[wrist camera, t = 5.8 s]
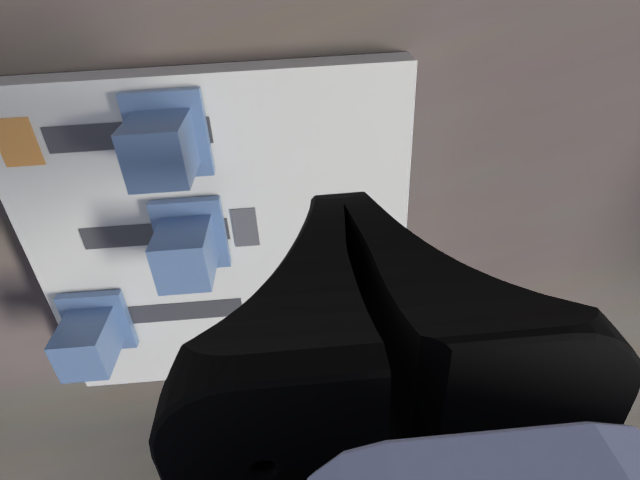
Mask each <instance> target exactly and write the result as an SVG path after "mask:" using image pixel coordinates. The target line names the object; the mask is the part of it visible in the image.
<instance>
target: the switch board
mask: <svg viewBox="0 0 640 480" xmlns="http://www.w3.org/2000/svg"><path fill="white" fill-rule="evenodd" d="M416 75H417V59H415V58H414V57H413V56H412V55H411V54H410V53H409V52H393V53H377V54H360V55H344V56H327V57H310V58H294V59H277V60H261V61H244V62H228V63H211V64H195V65H178V66H162V67H145V68H129V69H112V70H95V71H79V72H62V73H46V74H29V75H13V76H0V200H1V202H2V204H3V206H4V208H5V211H6V213H7V215H8V217H9V219H10V221H11V224H12V226H13V228H14V230H15V232H16V234H17V236H18V239H19V241H20V243H21V245H22V247H23V249H24V252H25V254H26V256H27V258H28V260H29V262H30V265H31V267H32V269H33V271H34V273H35V275H36V277H37V280H38V282H39V284H40V286H41V288H42V290H43V293H44V295H45V297H46V299H47V301H48V303H49V306H50V308H51V310H52V312H53V314H54V316H55V318H56V321H57V323H58V325H59V323H60V321H61V319H62V318H61V316H60V314H59V312H58V310H57V307H56V305H55V303H54V301H53V299H54V298H55V296H56V294H64V293H77V292H90V291H103V290H117V289H121V290H122V293H123V296H124V299H125V301H126V304H127V307H128V310H129V313H130V316H131V319H132V322H133V324H134V327H135V330H136V333H137V336H138V339H139V344H138V347H137V348H127V349H121V351H120V354H119V357H118V359H117V362H116V364H115V367H114V369H113V372H112V374H111V377H110V380H102V381H90V382H85V383H86V385H87V387H88V386H100V385H112V384H124V383H136V382H148V381H161V380H166V378H167V376H168V374H169V371H170V369H171V367H172V364H173V362H174V360H175V358H176V356H177V354H178V351H179V349H180V347H181V346H182V345H183V344H184V343H186V342H188V341H189V340H191V339H193V338H194V337H196V336H198V335H199V334H201V333H202V332H204V331H206V330H207V329H209V328H210V327H212V326H214V325H215V324H217V323H218V322H220V321H221V320H223V319H224V318H225V317H227V316H228V315H229V314H231V313H232V312H233V311H235V310H236V309H237V308H238V307H240V306H241V305H242V304H243V303H244V302H246V301H247V300H248V299H249V298H250V297H251V296H252V295H253V294H254V293H255V292H256V291H257V290H258V289H259V288H260V287H261V286H262V285H263V284H264V283H265V282H266V281H267V279H268V278H269V277H270V276H271V275H272V274H273V272H274V271H275V270H276V269H277V267H278V266H279V265H280V263H281V262H282V260H283V259H284V258H285V256H286V255H287V253H288V251H289V250H290V248H291V246H292V245H293V243H294V241H295V240H296V238H297V236H298V234H299V232H300V230H301V228H302V226H303V224H304V222H305V219H306V217H307V214H308V211H309V208H310V204H311V199H312V198H313V197H314V196H315V195H325V194H338V193H351V192H365V193H366V194H368V195H369V196H370V197H371V198H372V199H373V200H374V201H375V202H376V203H377V204H378V205H380V206H381V207H382V208H383V209H384V210H385V211H386V212H387V213H388V214H389V215H391V216H392V217H393V218H394V219H395V220H397V221H398V222H399V223H400V224H402V225H403V226H404V227H405V228H407V213H408V197H409V182H410V167H411V151H412V136H413V121H414V106H415V90H416ZM197 86H201V92H202V98H203V103H204V109H205V115H206V120H207V126H208V131H209V137H210V143H211V148H212V154H213V159H214V165H215V175H214V176H199V177H195V179H194V181H193V184H192V187H191V190H190V191H178V192H164V193H149V194H135V195H128V192H127V189H126V186H125V182H124V179H123V175H122V172H121V169H120V165H119V162H118V159H117V155H116V152H115V148H114V145H113V142H112V138H111V135H112V134H113V133H114V132H115V131H116V129H117V128H118V127H119V126H120V125H121V124H122V122H123V120H122V116H121V113H120V109H119V106H118V102H117V98H116V94H117V93H118V92H119V91H133V90H149V89H165V88H181V87H197ZM218 195H220V199H221V204H222V210H223V216H224V221H225V227H226V233H227V238H228V244H229V249H230V255H231V261H232V262H231V267H220V268H217V269H216V274H215V279H214V284H213V289H212V292H206V293H193V294H180V295H167V296H158V294H157V290H156V287H155V284H154V280H153V277H152V273H151V270H150V267H149V263H148V260H147V257H146V253H145V251H146V249H147V247H148V244H149V242H150V240H151V237H152V235H153V233H154V232H153V229H152V225H151V221H150V218H149V214H148V210H147V207H146V204H147V202H148V200H161V199H175V198H190V197H204V196H218Z"/></svg>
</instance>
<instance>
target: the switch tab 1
mask: <svg viewBox="0 0 640 480" xmlns="http://www.w3.org/2000/svg"><path fill="white" fill-rule="evenodd" d="M53 301H54V303H55V305H56V307H57V310H58V312H59V314H60V316H61V318H62V319H61V321H60V323H59V325H58V326H57V328H56V330H55V332H54V333H53V335H52V337H51V339H50V340H49V342H48V344H47V345H46V347H45V349H44V351H45V353H46V355H47V357H48V359H49V361H50V363H51V365H52V367H53V369H54V371H55V373H56V375H57V377H58V379H59V381H60V383H61V384H66V383H78V382H90V381H102V380H110V377H111V374H112V372H113V369H114V367H115V364H116V362H117V359H118V357H119V354H120V351H121V349H127V348H137V347H138V344H139V339H138V336H137V333H136V330H135V327H134V324H133V322H132V319H131V316H130V313H129V310H128V307H127V304H126V301H125V299H124V296H123V293H122V290H121V289H117V290H103V291H90V292H77V293H64V294H56V296H55V298H54V299H53Z"/></svg>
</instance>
